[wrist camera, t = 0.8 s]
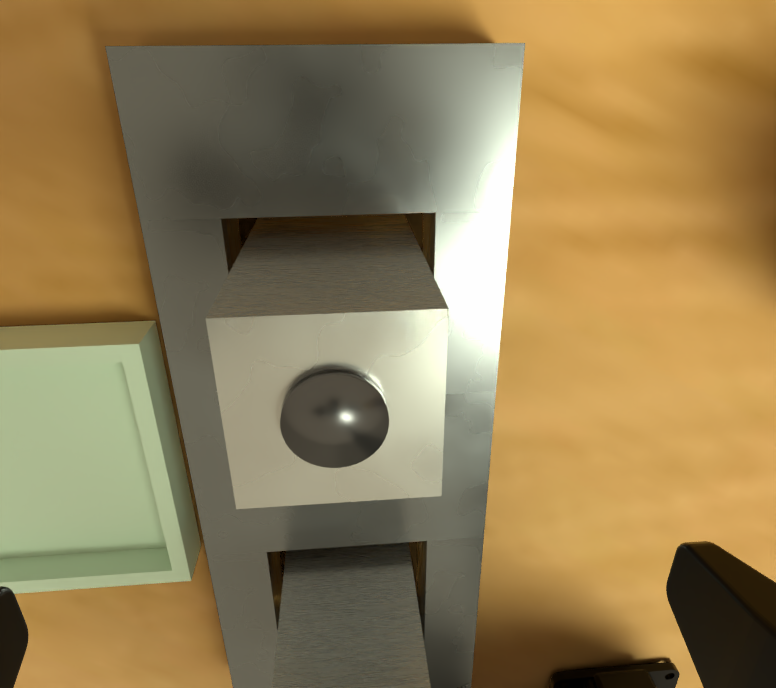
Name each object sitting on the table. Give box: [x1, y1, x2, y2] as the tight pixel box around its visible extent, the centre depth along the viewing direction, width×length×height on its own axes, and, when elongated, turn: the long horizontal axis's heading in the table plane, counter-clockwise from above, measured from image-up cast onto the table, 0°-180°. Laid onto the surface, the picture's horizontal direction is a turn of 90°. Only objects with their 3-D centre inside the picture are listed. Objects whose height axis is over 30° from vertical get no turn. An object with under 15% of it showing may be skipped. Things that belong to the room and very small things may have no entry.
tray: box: [0, 321, 201, 594], centre depth 20 cm, size 10×10×2 cm
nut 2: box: [272, 542, 431, 688], centre depth 21 cm, size 5×5×8 cm
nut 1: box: [206, 214, 449, 509], centre depth 15 cm, size 5×5×8 cm
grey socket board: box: [105, 43, 525, 688], centre depth 20 cm, size 26×10×2 cm, turn 1°
